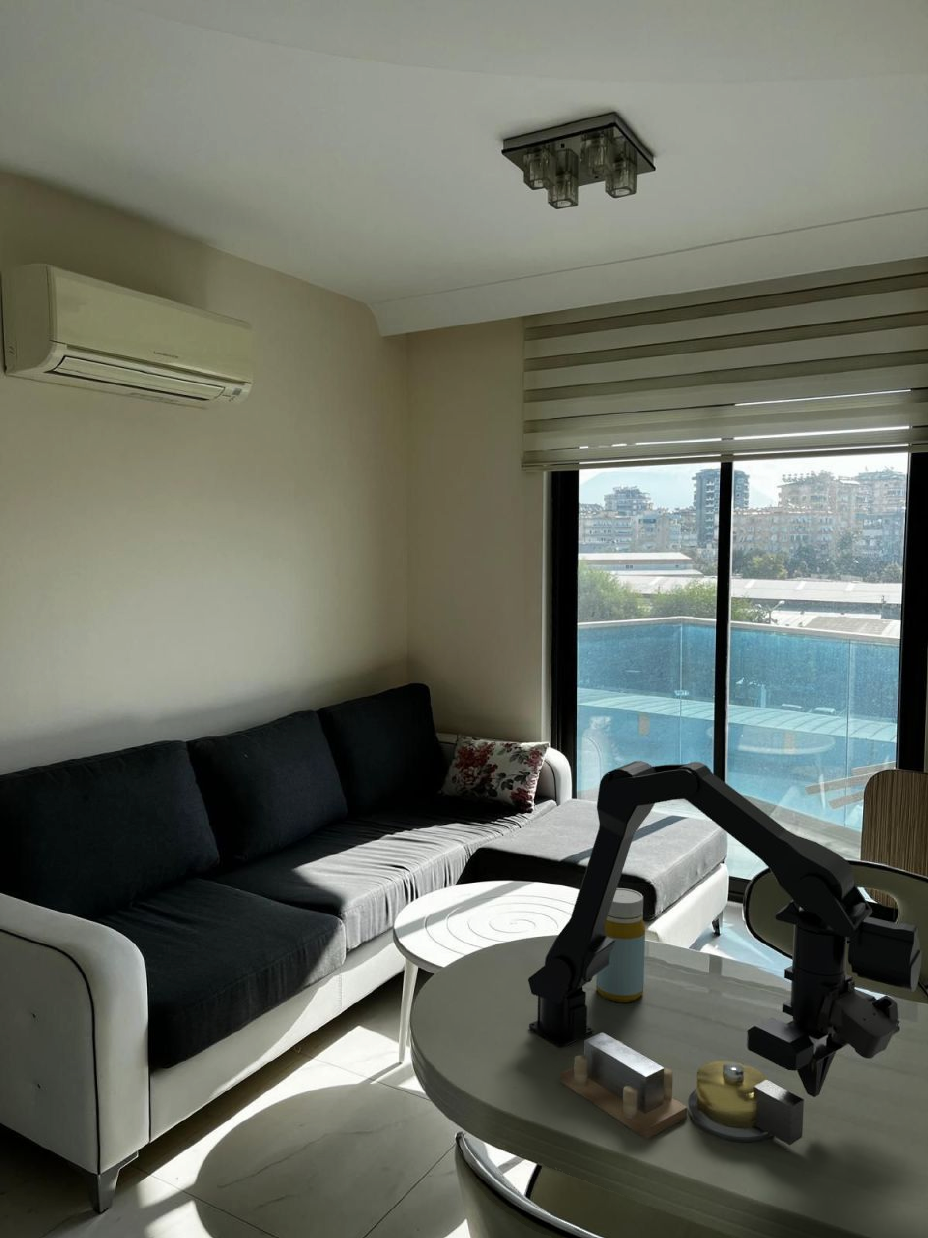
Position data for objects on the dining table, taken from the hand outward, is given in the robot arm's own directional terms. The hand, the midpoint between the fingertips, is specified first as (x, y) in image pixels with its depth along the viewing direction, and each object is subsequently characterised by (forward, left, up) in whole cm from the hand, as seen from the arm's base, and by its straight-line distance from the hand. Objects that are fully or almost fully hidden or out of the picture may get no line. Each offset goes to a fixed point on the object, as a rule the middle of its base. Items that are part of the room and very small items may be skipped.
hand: (812, 1094), depth 108 cm
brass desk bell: (-6, -6, -4) cm, 10 cm away
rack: (-16, -14, -4) cm, 22 cm away
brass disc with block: (-4, -6, -2) cm, 8 cm away
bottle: (-35, +6, -4) cm, 36 cm away
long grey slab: (-16, -14, -2) cm, 22 cm away
